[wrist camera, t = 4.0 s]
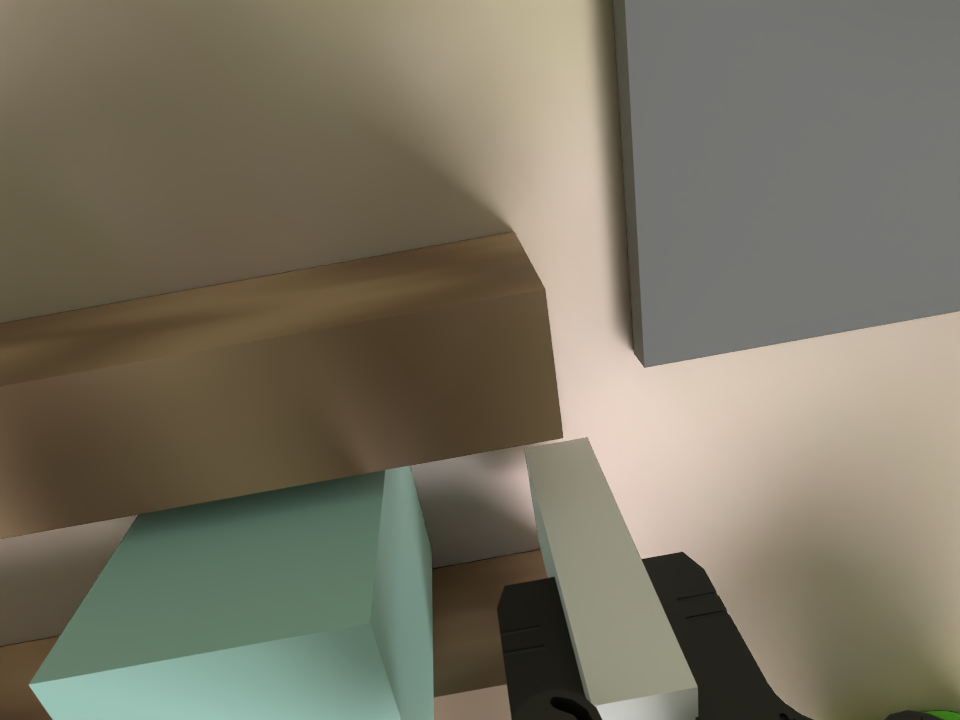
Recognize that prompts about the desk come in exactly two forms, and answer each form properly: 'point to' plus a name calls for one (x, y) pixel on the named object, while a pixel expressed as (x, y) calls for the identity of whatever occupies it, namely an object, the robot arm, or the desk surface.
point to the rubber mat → (787, 168)
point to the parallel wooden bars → (286, 414)
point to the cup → (945, 715)
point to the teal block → (258, 612)
